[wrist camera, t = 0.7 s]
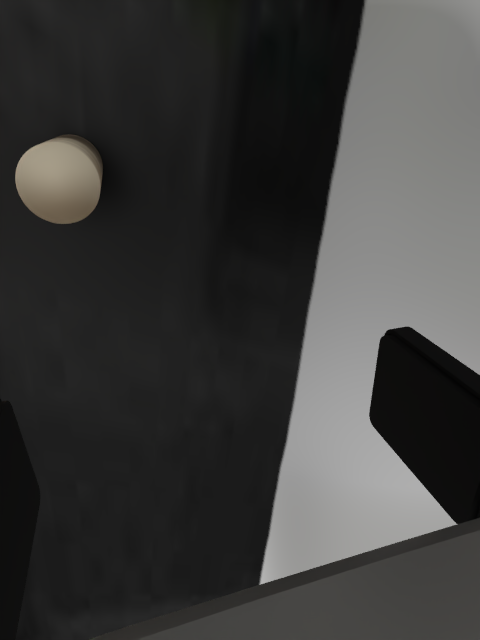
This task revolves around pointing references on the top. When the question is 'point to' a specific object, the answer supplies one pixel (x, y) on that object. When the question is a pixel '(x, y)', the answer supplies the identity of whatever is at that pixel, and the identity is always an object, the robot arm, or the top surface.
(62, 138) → the peg
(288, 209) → the top surface
